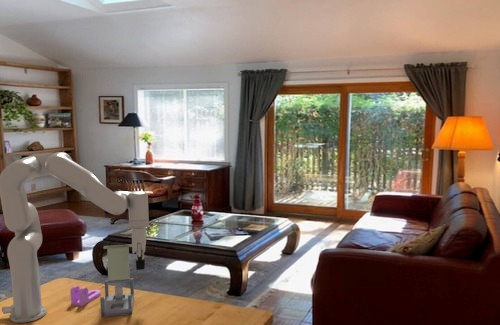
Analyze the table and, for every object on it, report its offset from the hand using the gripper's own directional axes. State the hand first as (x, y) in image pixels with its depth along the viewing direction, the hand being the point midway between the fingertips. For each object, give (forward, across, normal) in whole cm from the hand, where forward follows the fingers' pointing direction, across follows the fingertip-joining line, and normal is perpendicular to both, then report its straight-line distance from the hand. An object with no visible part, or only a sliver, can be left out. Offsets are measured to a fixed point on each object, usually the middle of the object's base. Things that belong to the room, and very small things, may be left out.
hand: (140, 267), depth 177 cm
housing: (+15, +1, -9) cm, 18 cm away
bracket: (+15, -10, -22) cm, 29 cm away
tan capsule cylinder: (0, 0, 0) cm, 0 cm away
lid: (0, -6, -9) cm, 11 cm away
